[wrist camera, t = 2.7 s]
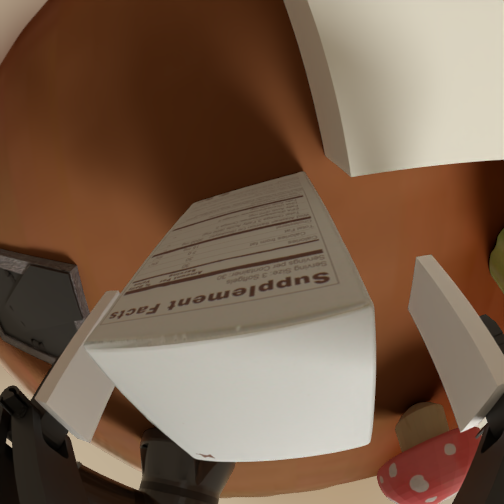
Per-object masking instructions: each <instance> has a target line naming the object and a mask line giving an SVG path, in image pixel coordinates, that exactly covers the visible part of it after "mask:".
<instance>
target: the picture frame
mask: <svg viewBox="0 0 504 504" xmlns="http://www.w3.org/2000/svg"><path fill="white" fill-rule="evenodd" d="M89 314H90V313H89V309H88V306H87V303H86V299H85V295H84V292H83V288H82V284H81V280H80V276H79V272H78V268H77V265H74V264H69V263H63V262H59V261H54V260H49V259H44V258H39V257H35V256H30V255H25V254H21V253H17V252H12V251H8V250H4V249H0V336H1V338H2V340H3V341H5V342H7V343H9V344H11V345H13V346H15V347H16V348H18V349H20V350H22V351H24V352H26V353H28V354H30V355H32V356H34V357H37V358H39V359H41V360H43V361H45V362H47V363H50V364H52V365H53V363H54V362H55V360H56V359H57V357H58V356H59V355H60V354H61V353H63V351H64V350H65V348H66V347H67V345H68V344H69V343H70V341H71V340H72V338H73V337H74V335H75V334H76V332H77V331H78V329H79V328H80V327H81V325H82V324H83V322H84V321H85V320H86V318H87V317H88V315H89Z"/></svg>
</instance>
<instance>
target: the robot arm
mask: <svg viewBox="0 0 504 504" xmlns="http://www.w3.org/2000/svg"><path fill="white" fill-rule="evenodd" d="M119 295H120V293H119V291H106V293H105V294H104V295H103V297H102V298H101V299H100V301H99V302H98V303H97V305H96V306H95V307H94V309H93V310H92V311H91V313H90V314H89V315H88V317H87V318H86V320H85V321H84V322H83V324H82V325H81V327H80V328H79V329H78V331H77V332H76V334H75V335H74V337H73V338H72V340H71V341H70V343H69V344H68V345H67V347H66V348H65V350H64V351H63V353H61V354H60V355H59V356H58V357H57V359H56V360H55V362H54V363H53V365H52V368H50V369H49V371H48V373H47V375H46V376H45V378H44V379H43V381H42V382H41V384H40V386H39V387H38V389H37V391H36V392H35V394H34V396H33V398H32V399H31V401H30V400H28V399H27V397H26V396H25V395H24V394H23V393H22V392H21V391H20V390H19V389H18V388H17V387H16V386H9V387H8V388H6V389H5V390H4V391H3V392H2V394H1V395H0V504H218V501H219V496H220V493H221V492H222V490H223V488H224V486H225V484H226V483H227V481H228V479H229V477H230V475H231V473H232V472H233V470H234V467H235V462H217V461H206V460H198V459H195V458H193V457H192V456H190V455H189V454H188V453H187V452H186V451H185V450H183V449H182V448H181V447H180V446H178V445H177V444H176V443H175V442H174V441H173V440H171V439H170V438H169V437H168V436H167V435H165V434H164V433H163V432H162V431H161V430H160V429H159V428H153V429H148V430H146V431H145V432H144V433H143V436H142V440H141V443H140V452H141V466H142V481H141V484H140V488H139V491H138V490H136V489H133V488H131V487H128V486H126V485H124V484H121V483H119V482H116V481H114V480H112V479H110V478H108V477H106V476H103V475H101V474H99V473H97V472H95V471H93V470H91V469H89V468H87V467H85V466H83V465H82V464H81V463H80V462H76V459H75V455H74V451H73V447H72V443H71V440H70V438H69V437H68V436H67V433H68V431H69V432H70V433H72V434H73V435H74V436H75V437H76V438H78V439H81V440H83V441H86V442H89V443H90V442H91V439H92V437H93V435H94V432H95V430H96V427H97V425H98V423H99V420H100V418H101V416H102V413H103V411H104V409H105V407H106V404H107V402H108V400H109V398H110V396H111V393H112V391H113V389H114V387H115V385H114V384H113V383H112V382H111V380H110V379H109V378H108V377H107V376H106V375H105V374H104V373H103V372H102V371H101V369H100V368H99V367H98V366H97V365H96V363H95V362H94V361H93V360H92V359H91V358H90V356H89V355H88V353H87V352H86V350H85V348H84V342H85V341H86V339H87V338H88V337H89V335H90V334H91V333H92V331H93V330H94V329H95V327H96V326H97V325H98V323H99V322H100V321H101V319H102V318H103V317H104V315H105V314H106V313H107V311H108V310H109V309H110V307H111V306H112V305H113V303H114V302H115V300H116V299H117V298H118V296H119ZM408 310H409V312H410V314H411V316H412V318H413V320H414V322H415V324H416V326H417V328H418V330H419V332H420V334H421V336H422V338H423V340H424V342H425V344H426V347H427V349H428V351H429V353H430V355H431V358H432V360H433V362H434V364H435V367H436V369H437V371H438V374H439V376H440V379H441V381H442V383H443V386H444V388H445V391H446V394H447V396H448V399H449V401H450V404H451V407H452V410H453V412H454V415H455V418H456V421H457V424H458V427H459V430H460V433H461V432H463V431H466V430H468V429H470V428H472V427H475V426H477V425H478V424H479V423H480V422H481V421H482V420H483V419H484V417H485V416H486V419H487V422H488V423H487V424H486V425H485V426H484V427H483V428H482V429H481V430H480V431H479V432H478V433H477V435H476V437H475V438H476V439H477V438H478V437H479V436H480V435H481V434H482V433H483V434H482V437H481V440H480V442H479V445H478V448H477V451H476V453H475V456H474V458H473V461H472V463H471V465H470V468H469V470H468V472H467V475H466V477H465V479H464V481H463V483H462V485H461V487H460V489H459V491H458V493H457V495H456V497H455V499H454V501H453V503H452V504H504V334H503V332H502V330H501V329H500V328H499V326H498V325H497V323H496V322H495V321H494V320H492V319H491V318H490V317H489V316H487V315H486V314H485V315H482V316H478V314H477V313H476V311H475V310H474V309H473V307H472V306H471V304H470V303H469V302H468V300H467V299H466V298H465V296H464V295H463V294H462V292H461V291H460V290H459V288H458V287H457V286H456V284H455V283H454V282H453V281H452V279H451V278H450V277H449V276H448V274H447V273H446V272H445V271H444V269H443V268H442V267H441V266H440V265H439V263H438V262H437V261H436V260H435V259H434V257H433V256H432V255H426V256H420V257H416V262H415V269H414V276H413V283H412V289H411V295H410V300H409V306H408ZM6 438H7V439H9V440H10V441H11V442H12V448H11V447H10V446H9V445H7V444H6Z"/></svg>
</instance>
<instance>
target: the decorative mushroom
mask: <svg viewBox="0 0 504 504" xmlns="http://www.w3.org/2000/svg"><path fill="white" fill-rule="evenodd" d="M395 431H396V434H397V437H398V441H399V444H400V447H401V451H402V453H400V454H398V455H397V456H395V457H393V458H392V459H390V460H389V461H387V462H386V463H385V464H384V465H383V466H382V467H381V468H380V469H379V471H378V474H377V480H378V484H379V486H380V488H381V490H382V492H383V493H384V495H385V496H386V497H387V498H388V499H390V500H391V501H392V502H394V503H396V504H439V503H441V502H443V501H445V500H447V499H449V498H451V497H452V496H453V495H455V494H456V493H457V492H458V491H459V489H460V487H461V485H462V483H463V481H464V479H465V477H466V475H467V472H468V470H469V468H470V465H471V463H472V461H473V458H474V456H475V453H476V451H477V448H478V445H479V442H480V440H481V437H482V435H480V436H479V437H478V438H477V439H476V438H475V437H476V435H477V433H478V432H479V431H480V429H479V428H478V427H472V428H470V429H468V430H466V431H463V432H461V433H460V430H459V428H456V429H453V430H450V431H449V427H448V424H447V420H446V416H445V413H444V409H443V406H442V405H440V404H436V403H432V402H422V403H417V404H415V405H413V406H411V407H410V408H409V409H408V410H407V411H406V412H405V413H404V414H403V415H402V416H401V418H400V420H399V422H398V423H397V425H396V428H395Z"/></svg>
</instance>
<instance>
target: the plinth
mask: <svg viewBox="0 0 504 504" xmlns="http://www.w3.org/2000/svg"><path fill="white" fill-rule="evenodd" d="M283 1H284V4H285V7H286V9H287V12H288V15H289V18H290V21H291V24H292V27H293V30H294V33H295V37H296V40H297V43H298V46H299V50H300V53H301V56H302V60H303V63H304V67H305V71H306V74H307V78H308V82H309V86H310V90H311V94H312V98H313V102H314V106H315V110H316V115H317V119H318V124H319V128H320V133H321V138H322V143H323V148H324V153H325V156H326V157H327V158H329V159H330V160H331V161H332V162H334V163H335V164H336V165H337V166H339V167H340V168H341V169H342V170H343V171H345V172H346V173H347V174H348V175H349V176H351V177H354V176H361V175H367V174H373V173H380V172H387V171H394V170H401V169H409V168H417V167H425V166H434V165H443V164H453V163H464V162H475V161H489V160H504V1H503V0H283Z"/></svg>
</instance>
